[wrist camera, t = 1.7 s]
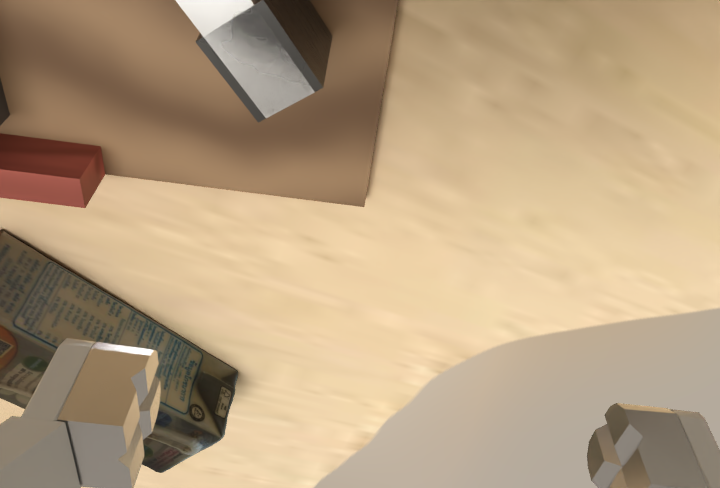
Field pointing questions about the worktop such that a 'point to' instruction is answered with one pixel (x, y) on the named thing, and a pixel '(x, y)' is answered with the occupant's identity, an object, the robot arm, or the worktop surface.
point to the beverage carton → (113, 326)
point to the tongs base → (177, 105)
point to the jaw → (263, 49)
